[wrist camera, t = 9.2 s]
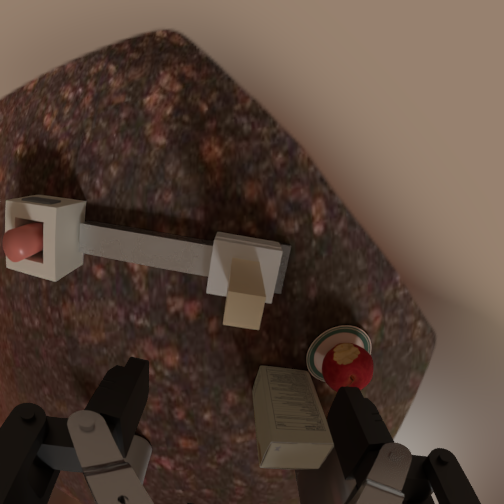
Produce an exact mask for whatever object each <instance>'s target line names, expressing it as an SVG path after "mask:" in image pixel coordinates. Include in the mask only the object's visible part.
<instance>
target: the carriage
mask: <svg viewBox="0 0 504 504" xmlns="http://www.w3.org/2000/svg"><path fill="white" fill-rule="evenodd" d="M282 253H283V251H282V249H281V245H280V244H279V242H275V241H269V240H264V239H258V238H252V237H247V236H241V235H235V234H229V233H223V232H217V234H216V236H215V239H214V244H213V251H212V257H211V264H210V271H209V277H208V284H207V291H206V293H208V294H214V295H220V296H226V303H225V311H224V318H223V325H228V326H234V327H241V328H247V329H254V330H259V328H260V323H261V319H262V314H263V309H264V305H265V303H270V304H271V303H272V299H273V294H274V290H275V285H276V281H277V276H278V271H279V267H280V262H281V257H282Z"/></svg>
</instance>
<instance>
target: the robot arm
mask: <svg viewBox="0 0 504 504" xmlns="http://www.w3.org/2000/svg"><path fill="white" fill-rule="evenodd" d="M148 393H149V361H148V360H143V359H139V358H135V357H130V358H129V360H128V362H127V364H126V365H125V367H122V366H118V365H116V366H115V367H113V368H112V369H110V370H109V371H108V372H107V373H106V375H105V376H104V378H103V380H102V381H101V383H100V385H99V387H98V388H97V389H96V391H95V393H94V394H93V396H92V398H91V399H90V401H89V403H88V404H87V406H86V408H85V409H84V410H81V411H77V412H75V413H73V414H72V415H71V416H70V417H69V418H57V417H49V416H46V414H45V412H44V410H43V409H42V408H41V407H40V406H38V405H36V404H33V403H23V404H20V405H18V406H16V407H15V408H14V409H13V410H12V412H11V413H10V415H9V416H8V417H7V419H6V420H5V422H4V423H3V425H2V426H1V428H0V504H47V503H48V501H49V498H50V495H51V493H52V490H53V488H54V485H55V483H56V480H57V478H58V475H59V473H60V470H63V471H72V472H82V473H83V474H84V477H85V479H86V481H87V484H88V486H89V488H90V491H91V493H92V495H93V497H94V500H95V502H96V504H154V503H153V502H152V500H151V498H150V497H149V495H148V494H147V492H146V490H145V489H144V487H143V485H142V484H141V482H140V480H139V479H138V477H137V475H136V474H135V472H134V470H133V468H132V467H131V465H130V464H129V463H128V462H125V460H124V459H123V458H126V456H127V453H128V451H129V448H130V445H131V442H132V440H133V437H134V434H135V431H136V429H137V426H138V423H139V421H140V418H141V415H142V413H143V410H144V407H145V405H146V402H147V398H148ZM382 420H383V419H382V418H381V416H380V415H379V412H378V410H377V408H376V406H375V405H374V404H373V403H372V402H371V401H370V400H369V399H368V398H364V397H363V395H362V393H361V391H360V389H359V388H358V387H340V388H339V390H338V392H337V394H336V397H335V399H334V401H333V404H332V406H331V408H330V410H329V413H328V418H327V423H328V427H329V430H330V433H331V437H332V440H333V443H334V446H335V447H334V448H333V449H332V450H331V452H330V453H329V455H328V456H327V458H326V459H325V461H324V462H323V463H322V465H321V466H320V468H319V469H295V473H296V481H297V485H298V491H299V497H300V503H301V504H435V503H434V501H433V499H432V496H431V494H432V493H433V492H434V493H435V495H436V498H437V500H438V502H439V504H481V503H480V501H479V499H478V497H477V496H476V494H475V492H474V490H473V488H472V486H471V484H470V482H469V480H468V479H467V477H466V475H465V473H464V471H463V470H462V468H461V466H460V464H459V463H458V461H457V459H456V457H455V456H454V455H453V454H452V453H451V452H450V451H448V450H446V449H442V448H437V449H434V450H432V451H431V453H430V454H429V455H428V457H426V456H416V455H412V454H411V452H410V451H409V449H408V448H406V447H405V446H404V445H401V444H399V443H394V441H393V439H392V437H391V435H390V433H389V431H388V429H387V427H386V425H385V423H384V421H382ZM187 504H192V503H187Z"/></svg>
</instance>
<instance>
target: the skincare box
mask: <svg viewBox="0 0 504 504" xmlns="http://www.w3.org/2000/svg"><path fill="white" fill-rule="evenodd" d="M252 394H253V405H254V416H255V427H256V438H257V447H258V457H259V466H260V467H261V468H272V469H319V468H320V466H321V465H322V463H323V462H324V461H325V459H326V458H327V456H328V455H329V453H330V452H331V450H332V449H333V447H334V443H333V440H332V437H331V433H330V430H329V427H328V423H327V420H326V417H325V415H324V412H323V409H322V406H321V404H320V401H319V398H318V395H317V393H316V390H315V387H314V384H313V382H312V379H311V376H310V373H309V371H304V370H297V369H288V368H280V367H272V366H263V365H261V366H260V368H259V371H258V373H257V376H256V379H255V382H254V386H253V390H252Z"/></svg>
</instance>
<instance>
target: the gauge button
mask: <svg viewBox="0 0 504 504" xmlns="http://www.w3.org/2000/svg"><path fill="white" fill-rule="evenodd" d="M43 225H44V222H39V221H36V222H33V223H30V224H26V225H23V226H20V227H17V228H14V229H11V230H8V231H7V232H6V233H5V235H4V237H3V249H4V252H5V254H6V256H7V257H8V259H9V260H11V261H12V262H19V261H21V260H23V259H25V258H27V257H29V256H32V255H34V254H36V253H38V252H40V251H42V250H43Z"/></svg>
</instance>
